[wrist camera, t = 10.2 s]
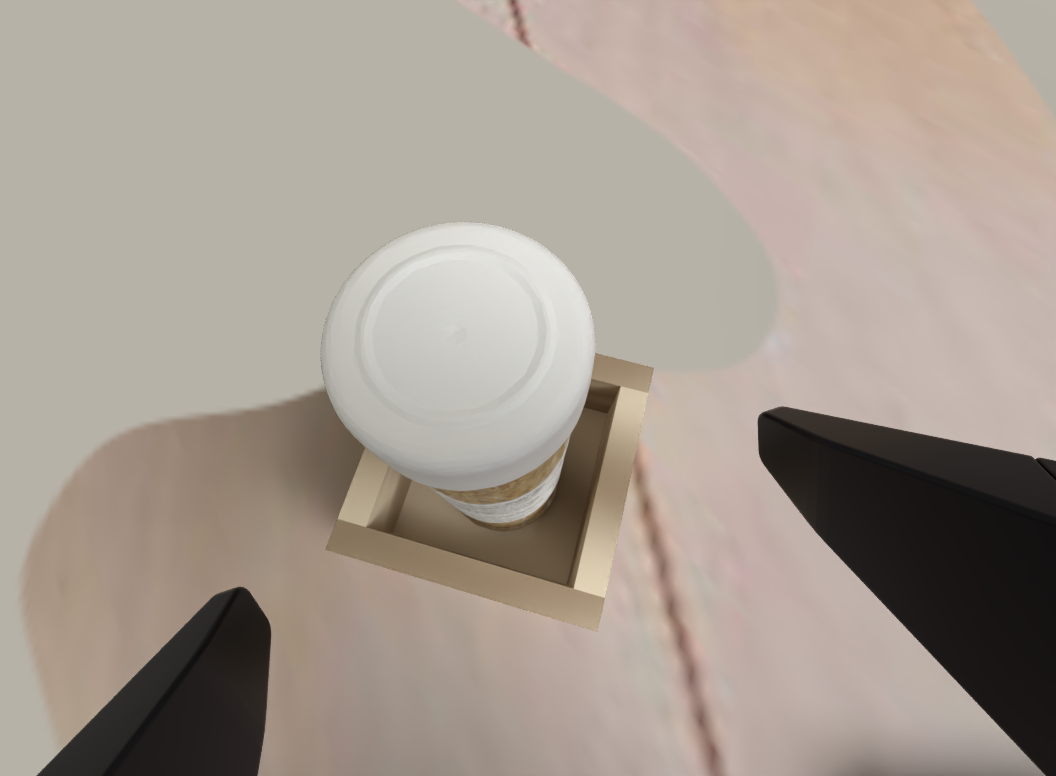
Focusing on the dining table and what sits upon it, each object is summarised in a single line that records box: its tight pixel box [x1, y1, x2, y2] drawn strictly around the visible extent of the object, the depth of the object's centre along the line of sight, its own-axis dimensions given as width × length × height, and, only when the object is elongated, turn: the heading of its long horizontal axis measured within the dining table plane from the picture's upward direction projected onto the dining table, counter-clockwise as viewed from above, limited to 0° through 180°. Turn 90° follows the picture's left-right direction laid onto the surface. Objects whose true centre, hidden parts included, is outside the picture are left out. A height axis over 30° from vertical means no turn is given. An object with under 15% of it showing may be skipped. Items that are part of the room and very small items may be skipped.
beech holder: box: [326, 353, 654, 632], centre depth 20 cm, size 9×9×4 cm
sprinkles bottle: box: [321, 222, 595, 531], centre depth 14 cm, size 5×5×13 cm
